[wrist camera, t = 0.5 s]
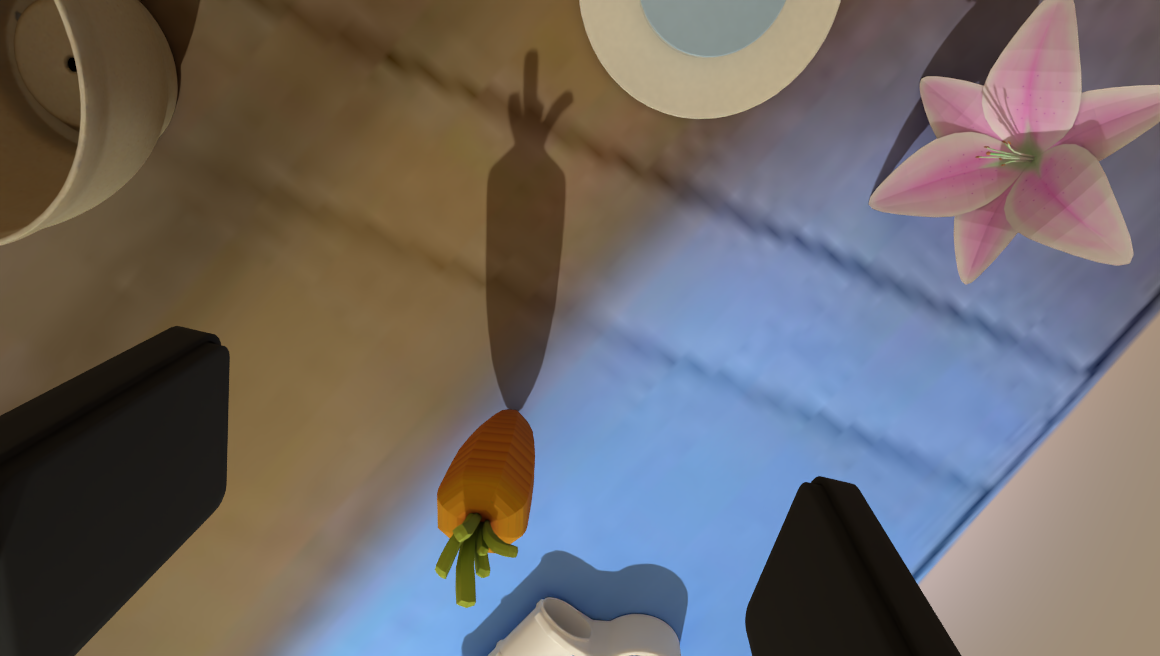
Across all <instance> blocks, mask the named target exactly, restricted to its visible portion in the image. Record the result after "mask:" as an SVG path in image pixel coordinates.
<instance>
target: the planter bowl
mask: <svg viewBox="0 0 1160 656" xmlns="http://www.w3.org/2000/svg"><path fill="white" fill-rule="evenodd" d="M70 58H75V63H76V68H77V72H72V71H71V70H70V68H69V66H68V60H69V59H70ZM177 93H178V87H177V74H176V66H175V62H174V59H173V56H172V53H171V50H170V47H169V44H168V42H167V40H166V38H165V36H164V34H163V32H162V30H161V28H160V27H159V25H158V24H157V22H156V21H155V19H154V18H153V16H152V15H151V14H150V12H149V11H148V10H147V9H146V8H145V7H144V6H143V5H142V3H141V2H140V1H139V0H0V245H4V244H8V243H11V242H14V241H17V240H20V239H22V238H24V237H26V236H28V235H30V234H33V233H35V232H37V231H39V230H40V229H43V228H46V227H49V226H52V225H55V224H58V223H61V222H64V221H66V220H69V219H71V218H73V217H75V216H78V215H80V214H82V213H84V212H85V211H87V210H89V209H91V208H93V207H95V206H96V205H98V204H100V203H101V202H103V201H104V200H106V199H107V198H109V197H110V196H111V195H113V194H114V193H115V192H117V191H118V190H119V189H120V188H121V187H123V186H124V185H125V184H126V183H127V182H128V181H129V180H130V179H131V178H132V177H133V176H134V175H135V174H136V173H137V171H138V170H139V169H140V168H141V166H142V165H143V164H144V163H145V161H146V160H147V158H148V157H149V155H150V154H151V152H152V150H153V148H154V146H155V144H156V142H157V141H158V138H159V137H160V136H161V135H162V133H163V132H164V131H165V130H166V128H167V126H168V125H169V123H170V120H171V118H172V116H173V113H174V110H175V107H176V101H177Z"/></svg>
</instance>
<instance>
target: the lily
mask: <svg viewBox="0 0 1160 656" xmlns="http://www.w3.org/2000/svg"><path fill="white" fill-rule="evenodd" d="M920 93H921V98H922V102H923V105H924V109H925V112H926V115H927V117H928V120H929V123H930V125H931V127H932V129H933V131H934V133H935V135H936V137H937V139H936V140H934V141H932V142H930V143H929V144H927V145H925V146H924V147H922V148H920V149H919V150H918V151H917V152H915V153H914V154H913V155H912V156H910V157H909V158H908V159H907V160H905V161H904V162H903V163H902V164H901V165H900V166H899V167H898V168H897V169H895V170H894V171H893V172H892V173H891V174H890V175H889V176H888V177H887V178H886V179H885V180H884V181H883V182H882V183H881V184H880V185H879V186H878V187H877V189H876V190H875V191H874V193H873V194H872V196H871V197H870V200H869V205H870V206H871V207H872V209H875V210H878V211H881V212H886V213H893V214H900V215H911V216H923V217H950V216H955V219H954V244H955V255H956V261H957V268H958V272H959V275H960V278H961V280H962V281H963V283H964V284H969V283H972V282H973V281H974V280H975V279H976V278H977V277H978V276H979V275H981V274H982V272H983V271H984V270H985V269H986V268H987V267H988V266H989V265H990V264H991V263H992V262H993V261H994V260H995V259H996V258H997V257H998V255H999V254H1000V253H1001V252H1002V251H1003V250H1004V249H1005V248H1006V246H1007V245H1008V244H1009V243H1010V242H1011V240H1012V239H1013V238H1014V237H1015V235H1016V234H1017V233H1018V232H1019V233H1020V234H1022V235H1024V236H1025V237H1027V238H1029V239H1031V240H1034V241H1036V242H1039V243H1041V244H1044V245H1046V246H1049V247H1052V248H1055V249H1058V250H1061V251H1063V252H1066V253H1069V254H1072V255H1075V256H1078V257H1082V258H1085V259H1089V260H1092V261H1095V262H1100V263H1105V264H1111V265H1117V266H1118V265H1124V264H1129V263H1130V262H1131V259H1132V257H1133V254H1134V253H1133V248H1132V243H1131V238H1130V235H1129V232H1128V230H1127V227H1126V224H1125V221H1124V219H1123V216H1122V213H1121V211H1120V209H1119V206H1118V204H1117V201H1116V199H1115V197H1114V194H1113V192H1112V189H1111V187H1110V184H1109V182H1108V179H1107V177H1106V174H1105V172H1104V171H1103V169H1102V167H1101V165H1100V163H1099V162H1098V161H1100V160H1102V159H1104V158H1106V157H1107V156H1109V155H1111V154H1112V153H1114V152H1115V151H1117V150H1119V149H1120V148H1122V147H1124V146H1125V145H1127V144H1128V143H1130V142H1131V141H1133V140H1134V139H1135V138H1137V137H1138V136H1140V135H1141V134H1143V133H1144V132H1146V131H1147V130H1149V129H1150V128H1152V127H1153V126H1154V125H1156V124H1157V123H1158V122H1160V85H1143V86H1127V87H1114V88H1106V89H1099V90H1092V91H1087V92H1083V93H1081V66H1080V55H1079V43H1078V31H1077V21H1076V12H1075V4H1074V1H1073V0H1044V1H1043V2H1042V3H1041V4H1040V5H1039V6H1038V7H1037V8H1036V9H1035V11H1034V12H1033V13H1032V14H1031V15H1030V17H1029V18H1028V19H1027V20H1026V21H1025V23H1024V24H1023V25H1022V26H1021V27H1020V29H1019V30H1018V31H1017V33H1016V34H1015V35H1014V37H1013V38H1012V39H1011V41H1010V42H1009V44H1008V45H1007V46H1006V48H1005V49H1004V50H1003V52H1002V53H1001V55H1000V56H999V58H998V59H997V61H996V63H995V64H994V66H993V67H992V69H991V70H990V73H989V75H988V77H987V80H986V82H985V84H984V86H983V85H979V84H976V83H972V82H969V81H964V80H959V79H954V78H946V77H939V76H926V77H924V78H922V79H921V82H920Z"/></svg>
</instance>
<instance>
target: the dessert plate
mask: <svg viewBox="0 0 1160 656" xmlns="http://www.w3.org/2000/svg"><path fill="white" fill-rule="evenodd" d="M840 2H841V0H786V2H785V4H784V6H783V8H782V10H781V12H780V13H779V15H778V17H777V19H776V20H775V21H774V22H773V24H772V25H771V26H770V28H769V29H768V30H767V31H766V32H765V33H764V34H763V35H762V36H761V37H759V38H758V39H757V40H756V41H755V42H753V43H752V44H750V45H749V46H747V47H745V48H743V49H741V50H739V51H737V52H735V53H732V54H729V55H726V56H723V57H717V58H704V59H703V58H694V57H690V56H686V55H683V54H681V53H679V52H676V51H675V50H673V49H671V48H670V47H668V46H667V45H666V44H664V43H663V42H662V41H661V40H660V39H659V38H658V37H657V36H656V35H655V34H654V32H653V31H652V29H651V28H650V27H649V25H648V23H647V21H646V19H645V17H644V15H643V12H642V10H641V7H640V3H639V0H579V3H580V10H581V15H582V19H583V23H584V26H585V30H586V33H587V35H588V38H589V40H590V43H591V45H592V48H593V50H594V51H595V53H596V55H597V57H598V59H599V60H600V62H601V64H602V65H603V67H604V68H605V69H606V71H607V72H608V73H609V75H610V76H611V77H612V78H613V79H614V80H615V81H616V82H617V84H618V85H619V86H620V87H621V88H622V89H623V90H625V91H626V92H627V93H629V94H630V95H631V96H632V97H634V98H635V99H636V100H638V101H640V102H642V103H643V104H645V105H647V106H648V107H651V108H653V109H655V110H658V111H660V112H663V113H666V114H670V115H673V116H677V117H683V118H692V119H712V118H718V117H725V116H730V115H733V114H736V113H740V112H743V111H746V110H748V109H750V108H753V107H755V106H757V105H759V104H761V103H763V102H765V101H766V100H768V99H769V98H771V97H773V96H774V95H776V94H777V93H778V92H780V91H781V90H782V89H784V88H785V87H786V86H787V85H789V84H790V83H791V82H792V81H793V80H794V79H795V78H796V77H797V76H798V75H799V74H800V73H801V72H802V71H803V70H804V69H805V67H806V66H807V65H808V64H809V62H810V61H811V60H812V59H813V57H814V56H815V55H816V53H817V51H818V50H819V48H820V47H821V45H822V43H823V42H824V40H825V39H826V36H827V34H828V32H829V30H830V28H831V26H832V24H833V22H834V19H835V16H836V13H837V11H838V8H839V5H840Z"/></svg>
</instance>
